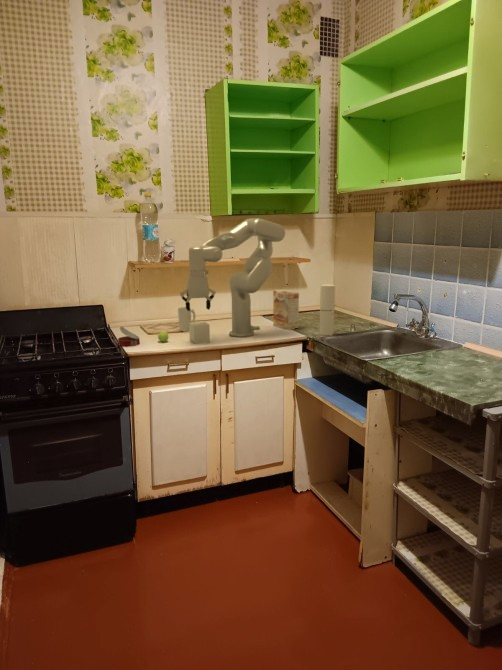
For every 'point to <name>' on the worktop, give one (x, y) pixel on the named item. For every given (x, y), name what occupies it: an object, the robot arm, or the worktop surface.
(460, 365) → the worktop surface
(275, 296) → the coffeecake box
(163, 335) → the ball
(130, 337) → the canned food
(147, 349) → the worktop surface
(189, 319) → the mug
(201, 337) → the grey piece
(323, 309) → the cylindrical container
